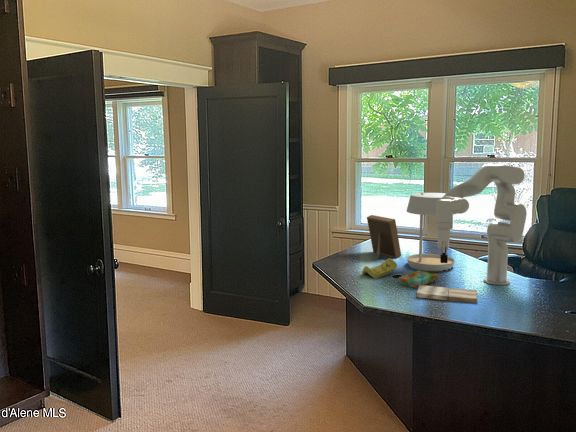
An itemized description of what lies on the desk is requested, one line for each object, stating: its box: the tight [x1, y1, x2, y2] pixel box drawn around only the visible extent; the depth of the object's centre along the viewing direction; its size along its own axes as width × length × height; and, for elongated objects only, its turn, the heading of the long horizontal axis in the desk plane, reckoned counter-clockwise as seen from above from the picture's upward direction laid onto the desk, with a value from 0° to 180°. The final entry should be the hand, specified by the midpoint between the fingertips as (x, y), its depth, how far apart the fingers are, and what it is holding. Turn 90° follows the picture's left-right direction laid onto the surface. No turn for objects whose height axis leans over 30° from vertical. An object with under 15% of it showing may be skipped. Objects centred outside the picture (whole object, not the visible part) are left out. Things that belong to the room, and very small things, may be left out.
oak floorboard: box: [447, 287, 478, 304], centre depth 248 cm, size 14×13×2 cm
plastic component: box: [361, 257, 398, 279], centre depth 291 cm, size 20×7×10 cm
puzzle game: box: [397, 270, 440, 289], centre depth 273 cm, size 12×5×20 cm
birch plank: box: [416, 285, 450, 301], centre depth 252 cm, size 14×14×2 cm
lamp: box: [406, 192, 456, 272], centre depth 304 cm, size 29×29×43 cm
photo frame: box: [366, 214, 402, 259], centre depth 332 cm, size 15×22×25 cm
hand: (443, 262), depth 252 cm, fingers closed
